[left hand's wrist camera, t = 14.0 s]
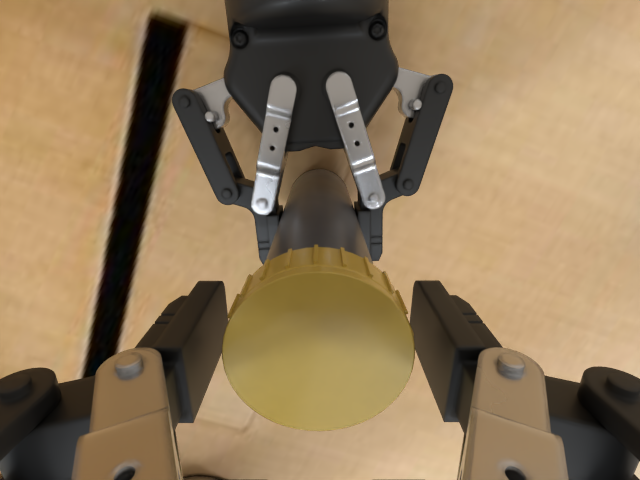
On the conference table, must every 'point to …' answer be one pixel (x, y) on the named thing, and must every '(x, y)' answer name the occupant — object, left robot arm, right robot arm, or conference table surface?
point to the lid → (318, 340)
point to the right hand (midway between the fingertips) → (322, 266)
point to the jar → (319, 217)
